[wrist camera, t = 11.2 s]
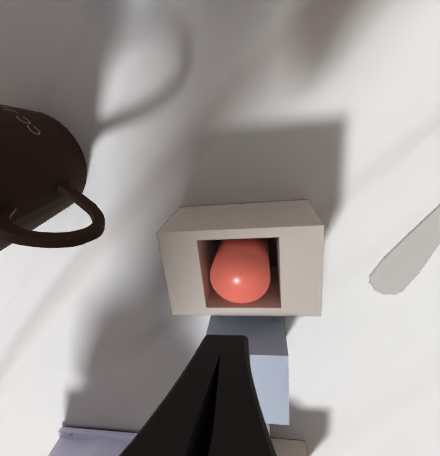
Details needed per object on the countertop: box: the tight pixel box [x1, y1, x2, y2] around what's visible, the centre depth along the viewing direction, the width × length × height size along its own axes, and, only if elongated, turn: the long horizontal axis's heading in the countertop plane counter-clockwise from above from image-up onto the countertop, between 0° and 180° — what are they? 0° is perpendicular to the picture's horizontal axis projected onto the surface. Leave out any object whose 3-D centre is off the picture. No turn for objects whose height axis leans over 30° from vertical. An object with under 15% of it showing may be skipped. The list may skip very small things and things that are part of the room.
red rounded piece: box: [210, 238, 270, 303], centre depth 15 cm, size 3×3×4 cm
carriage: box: [206, 315, 289, 425], centre depth 17 cm, size 4×5×6 cm
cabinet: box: [157, 200, 324, 316], centre depth 16 cm, size 8×5×4 cm, turn 96°
